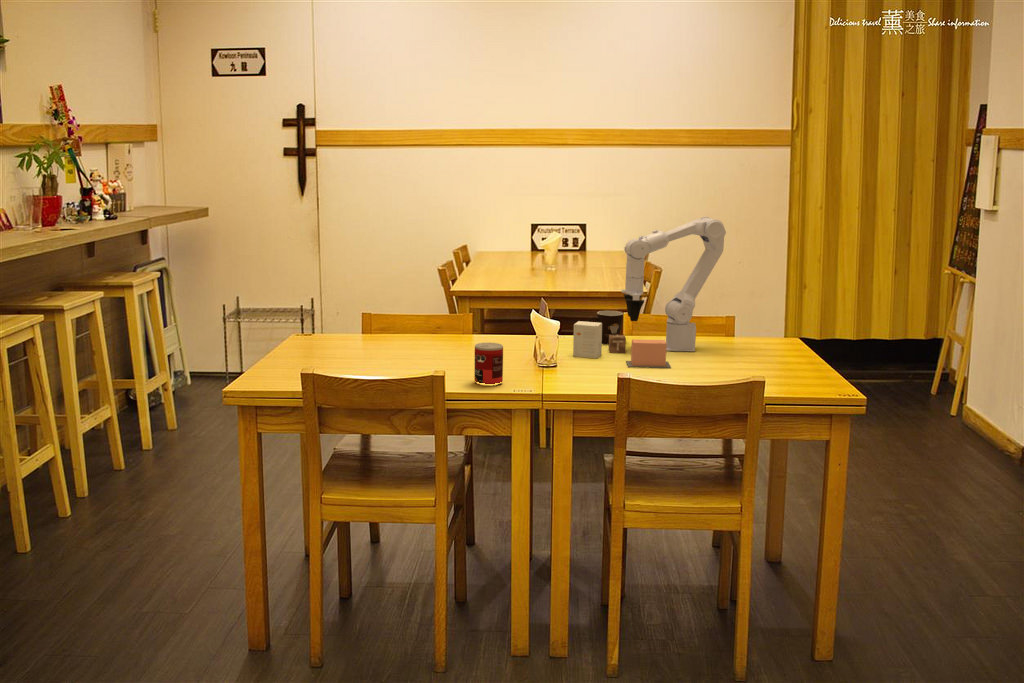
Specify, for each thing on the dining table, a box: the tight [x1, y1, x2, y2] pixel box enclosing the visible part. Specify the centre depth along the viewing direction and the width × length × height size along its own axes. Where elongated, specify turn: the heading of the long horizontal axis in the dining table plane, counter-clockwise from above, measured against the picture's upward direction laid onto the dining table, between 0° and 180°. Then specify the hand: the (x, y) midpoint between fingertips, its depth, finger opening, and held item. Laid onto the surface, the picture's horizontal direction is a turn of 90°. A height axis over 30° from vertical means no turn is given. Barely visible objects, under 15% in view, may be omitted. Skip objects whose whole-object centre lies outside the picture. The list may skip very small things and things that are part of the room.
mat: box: [625, 360, 672, 369], centre depth 317 cm, size 13×7×1 cm, turn 89°
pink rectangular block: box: [630, 338, 667, 366], centre depth 316 cm, size 10×5×7 cm, turn 89°
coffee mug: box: [587, 310, 624, 346], centre depth 346 cm, size 12×9×10 cm
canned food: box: [474, 342, 504, 384], centre depth 292 cm, size 8×8×11 cm
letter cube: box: [608, 334, 627, 354], centre depth 334 cm, size 5×5×5 cm
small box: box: [572, 320, 603, 359], centre depth 327 cm, size 8×6×10 cm
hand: (632, 318), depth 334 cm, fingers open, 7 cm apart
